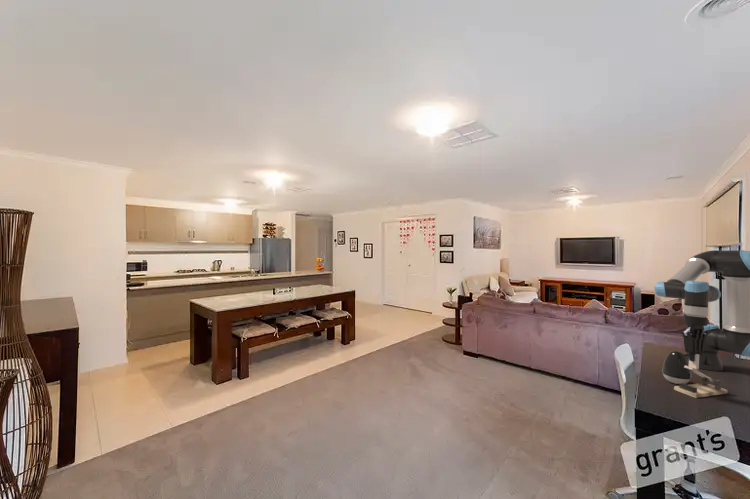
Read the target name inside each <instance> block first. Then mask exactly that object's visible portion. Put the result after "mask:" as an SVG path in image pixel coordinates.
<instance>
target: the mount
mask: <svg viewBox="0 0 750 499" xmlns="http://www.w3.org/2000/svg"><path fill="white" fill-rule="evenodd" d="M714 380H715V383H714V385H713V384H710V383H709V381H708V380H706V379H705V378H703V377H701V382H699V383H698V382H697V383H693V384H691V383H690V384H688V383H687V384H684V383H681V384H678V385H675V386H674V387H673V391H677V392H679V393H682V394H684V395H687V396H690V397H691V398H692V397H693V398H695V399H697V398H704V397H710V396H711V397H713V396H718V395H719V396H720V395H727V394H728V389H725V388H722V380H721V379H714Z"/></svg>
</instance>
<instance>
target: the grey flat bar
mask: <svg viewBox="0 0 750 499" xmlns="http://www.w3.org/2000/svg"><path fill="white" fill-rule="evenodd" d="M684 368H686V369H688V370H690V371H691V373H694V374H696V375H697V376H699V377H701V378H702V377H703V378H705V379H706V380H708V382H712V383H714V384H715V380H716V379H713V378H712V377H710V376H708V375H707V374H706V373H702V372H701V371H699V370H698V369H695V368H692V367H689V366H686V365H685V366H684Z"/></svg>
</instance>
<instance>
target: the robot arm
mask: <svg viewBox="0 0 750 499" xmlns="http://www.w3.org/2000/svg"><path fill="white" fill-rule="evenodd" d="M712 272H713V273H721V277H722V278H724V279H725V280H726V281H725V282H726V287H725V288H726V319H727V320H726V324H725V325H723V326H722V328H720V326H719V325H717V324H711V323H710V324H709V323H708V322H709V319H708V316H709V303H713V302H716V301H718V300H719V299H720V298H721V296H722V293H721V290H720V289H719V288H717V286H713V285H710V284H709V282H707V281H700V280H699V281H697V279H698V278H699V277H700V276H702V275H705V274H707V273H712ZM653 288H654V289H653V290H654V294H655V295H656V296H658V297H663V298H670V299H679V300H684V301H683V302H684V304H683V305H684V306H683V314H684V315H683V323H684V324H686V327H685V328H686V329H685V330H682V331H681V334H682V336H683V344H684V351H685V352H686V353H685V354H688V353H689V356H687V357H686V359H687V361H688V363H689V367H692V368H695V369H696V370H699V369H701V370H707V371H714V372H722V371H723V370H724V369H723V368H724V366H723V363H722V360H721V358H720V355H719V352H724V353H729V354H733V355H738V356H741V357H748V358H750V250H743V249H742V250H740V249H739V250H735V249H733V250H729V249H728V250H717V249H714V250H706V251H703V252H700V253H698V254H695V255H692V256H691V257H690V258H689V259H687V260H686V261H685V264H684V266H683V267H681V268H680V269H679V270H678V271H677V272H676V273H675V274H673V276H671V277H670V278H669V279H668V280H667V281H657V282H656V283H655V284H654V287H653Z"/></svg>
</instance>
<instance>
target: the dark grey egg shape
mask: <svg viewBox="0 0 750 499" xmlns="http://www.w3.org/2000/svg"><path fill="white" fill-rule="evenodd" d="M687 356H689V353H688V354H686V353H683V352H681V351H678V350H671V351H670V352H669V353H668V354H667V355H666V357H665V359H664V361H663V365H662V368H661V369H662V370H661V372H662V374H663V377H664V379H666V381H668V382H669V383H672V384H675V385H679V384H681V383H684V384H687V385H688V384H689V382H690V381H691V379H692V371H690V370H688V369H686V368H684V366H685V365H686V366H689V363H688V361H687V359H686V357H687Z"/></svg>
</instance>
